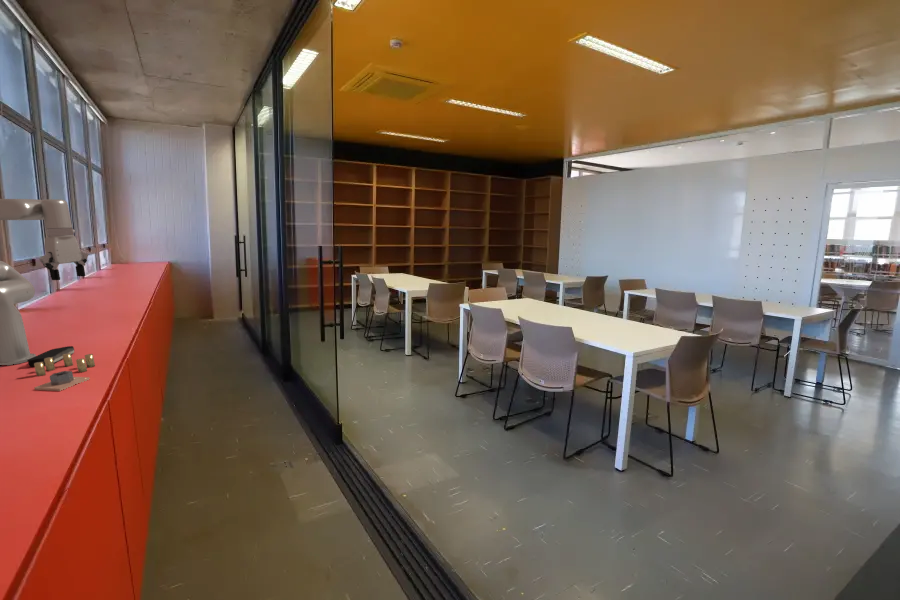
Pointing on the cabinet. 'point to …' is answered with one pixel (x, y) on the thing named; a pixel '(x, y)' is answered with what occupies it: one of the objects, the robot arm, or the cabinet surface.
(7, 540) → the cabinet surface
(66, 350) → the black sponge
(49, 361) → the brass standoffs
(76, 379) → the tan tile
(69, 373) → the steel nut
